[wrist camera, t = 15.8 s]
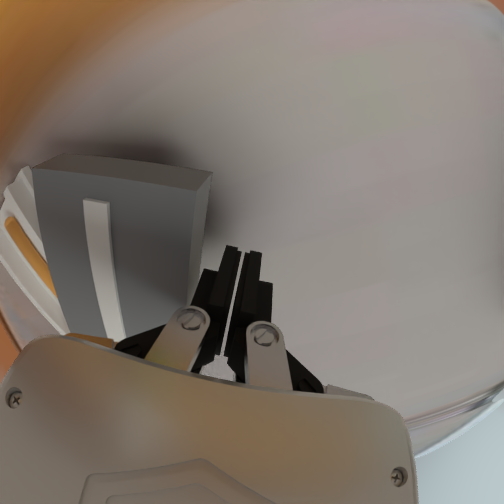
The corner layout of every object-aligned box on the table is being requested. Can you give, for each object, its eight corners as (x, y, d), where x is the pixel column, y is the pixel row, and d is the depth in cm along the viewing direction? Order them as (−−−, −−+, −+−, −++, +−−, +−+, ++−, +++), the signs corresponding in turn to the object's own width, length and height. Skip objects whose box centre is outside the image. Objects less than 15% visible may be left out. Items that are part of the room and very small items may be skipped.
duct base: (197, 367, 23) (191, 389, 21) (137, 379, 26) (130, 396, 24) (28, 165, 14) (5, 176, 12) (-2, 223, 17) (-18, 236, 15)
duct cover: (190, 408, 22) (184, 431, 20) (113, 384, 22) (104, 404, 20) (212, 172, 11) (194, 193, 8) (63, 153, 10) (28, 169, 8)
